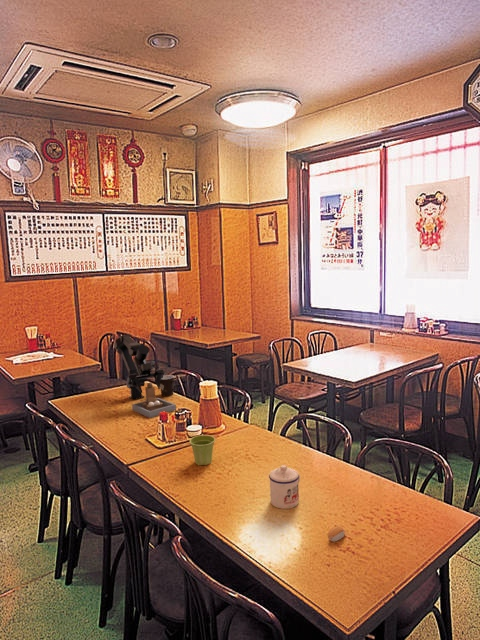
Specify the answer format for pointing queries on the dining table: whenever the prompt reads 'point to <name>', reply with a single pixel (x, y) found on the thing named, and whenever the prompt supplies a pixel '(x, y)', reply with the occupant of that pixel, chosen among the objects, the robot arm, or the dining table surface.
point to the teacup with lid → (284, 487)
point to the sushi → (336, 533)
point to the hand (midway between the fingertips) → (150, 390)
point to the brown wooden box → (151, 398)
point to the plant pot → (202, 449)
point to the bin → (166, 407)
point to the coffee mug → (167, 385)
